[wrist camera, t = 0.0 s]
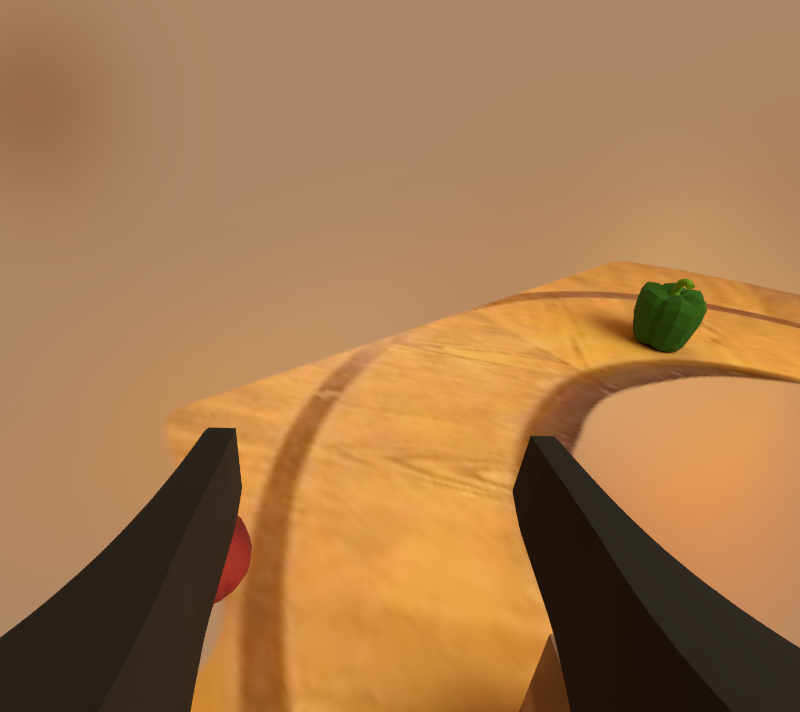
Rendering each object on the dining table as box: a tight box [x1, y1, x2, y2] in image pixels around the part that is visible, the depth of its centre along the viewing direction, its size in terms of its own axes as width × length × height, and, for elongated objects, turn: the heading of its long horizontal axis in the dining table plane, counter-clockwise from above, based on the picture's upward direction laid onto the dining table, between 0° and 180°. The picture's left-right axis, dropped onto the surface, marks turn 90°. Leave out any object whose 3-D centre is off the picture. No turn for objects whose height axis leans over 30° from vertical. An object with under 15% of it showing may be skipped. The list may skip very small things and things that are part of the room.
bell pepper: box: [633, 279, 707, 352], centre depth 69 cm, size 8×8×10 cm
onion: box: [214, 515, 252, 604], centre depth 31 cm, size 6×6×8 cm
